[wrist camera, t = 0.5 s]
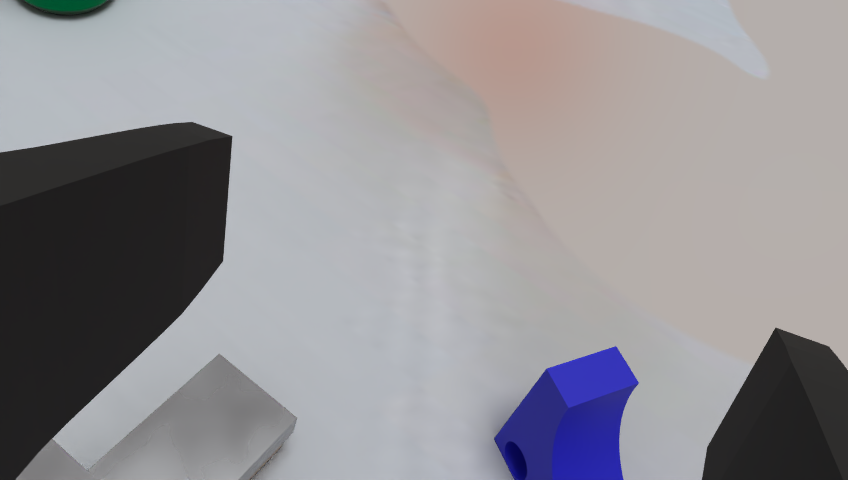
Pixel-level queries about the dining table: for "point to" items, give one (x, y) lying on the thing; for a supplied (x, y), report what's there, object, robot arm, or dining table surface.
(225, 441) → the chain
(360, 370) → the dining table surface
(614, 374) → the blue cradle block
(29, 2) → the soda can
